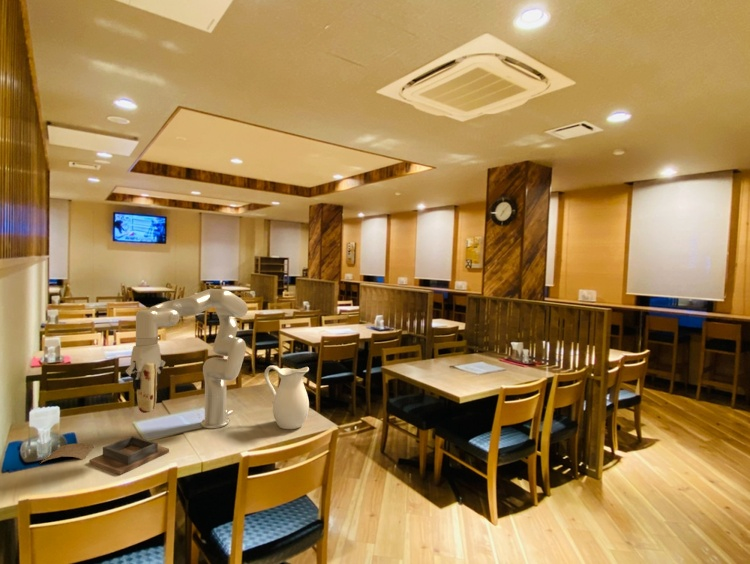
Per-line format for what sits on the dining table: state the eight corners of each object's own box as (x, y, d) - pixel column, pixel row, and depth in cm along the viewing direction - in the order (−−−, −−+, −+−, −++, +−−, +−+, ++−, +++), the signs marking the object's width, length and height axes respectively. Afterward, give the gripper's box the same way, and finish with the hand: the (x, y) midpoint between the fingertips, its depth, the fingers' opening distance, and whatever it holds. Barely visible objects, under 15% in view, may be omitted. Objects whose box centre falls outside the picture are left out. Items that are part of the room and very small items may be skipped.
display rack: (139, 442, 171) (139, 431, 171) (169, 452, 163) (169, 440, 163) (89, 463, 153) (89, 450, 152) (120, 475, 145) (120, 461, 145)
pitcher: (315, 422, 198) (316, 366, 197) (294, 435, 183) (295, 374, 182) (276, 413, 208) (277, 360, 207) (253, 424, 193) (254, 367, 192)
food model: (133, 409, 160) (133, 359, 159) (151, 405, 165) (152, 357, 164) (140, 416, 153) (141, 364, 152) (159, 412, 158) (160, 361, 157)
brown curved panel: (95, 448, 166) (95, 440, 166) (86, 460, 156) (86, 453, 156) (48, 453, 161) (47, 445, 161) (35, 467, 150) (35, 459, 150)
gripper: (159, 337, 167) (159, 379, 168) (118, 344, 151) (118, 390, 152) (172, 339, 164) (172, 382, 165) (132, 346, 148) (131, 393, 149)
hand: (146, 386), depth 158 cm, fingers closed on food model, 7 cm apart
